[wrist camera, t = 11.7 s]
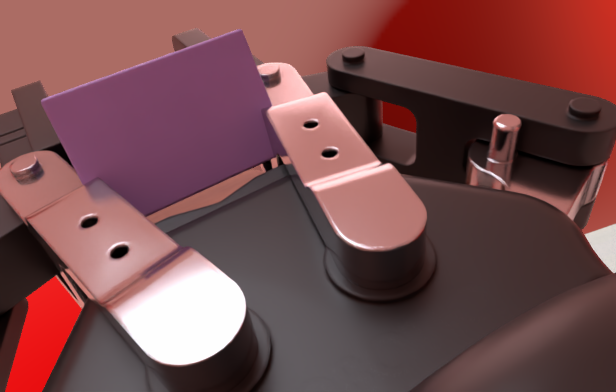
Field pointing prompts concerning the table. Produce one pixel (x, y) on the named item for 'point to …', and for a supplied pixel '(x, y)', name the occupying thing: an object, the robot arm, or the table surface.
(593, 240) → the table surface
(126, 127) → the purple rectangular bar
